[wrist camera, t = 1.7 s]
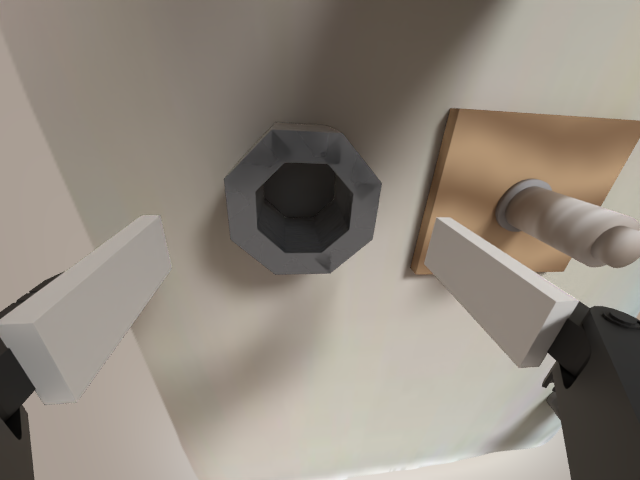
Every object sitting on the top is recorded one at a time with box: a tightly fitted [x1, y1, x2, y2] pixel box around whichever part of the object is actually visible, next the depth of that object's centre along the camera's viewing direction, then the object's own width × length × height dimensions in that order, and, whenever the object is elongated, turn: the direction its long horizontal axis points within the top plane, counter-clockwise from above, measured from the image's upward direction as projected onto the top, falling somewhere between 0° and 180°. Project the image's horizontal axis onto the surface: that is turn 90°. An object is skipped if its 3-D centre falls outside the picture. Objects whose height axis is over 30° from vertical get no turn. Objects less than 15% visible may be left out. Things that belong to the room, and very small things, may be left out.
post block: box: [410, 108, 640, 274], centre depth 20 cm, size 14×16×9 cm
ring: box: [224, 122, 382, 274], centre depth 18 cm, size 9×9×6 cm
